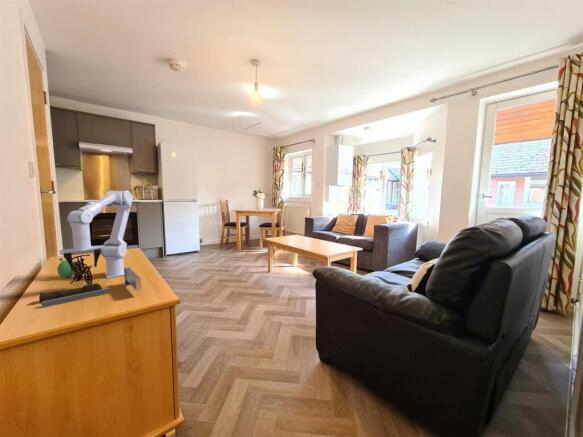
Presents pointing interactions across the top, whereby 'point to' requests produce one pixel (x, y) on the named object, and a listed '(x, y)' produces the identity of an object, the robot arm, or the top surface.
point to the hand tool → (68, 292)
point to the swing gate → (132, 279)
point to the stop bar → (75, 297)
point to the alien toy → (65, 269)
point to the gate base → (125, 284)
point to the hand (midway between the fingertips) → (84, 268)
